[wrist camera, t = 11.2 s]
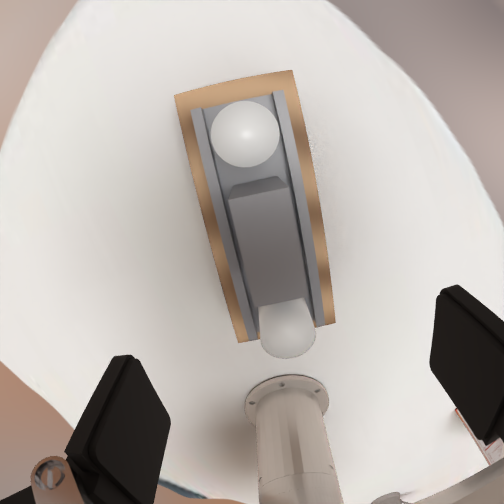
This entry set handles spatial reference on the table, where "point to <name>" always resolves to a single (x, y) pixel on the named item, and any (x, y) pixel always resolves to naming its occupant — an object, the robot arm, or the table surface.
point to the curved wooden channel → (184, 104)
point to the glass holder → (389, 499)
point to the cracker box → (489, 451)
